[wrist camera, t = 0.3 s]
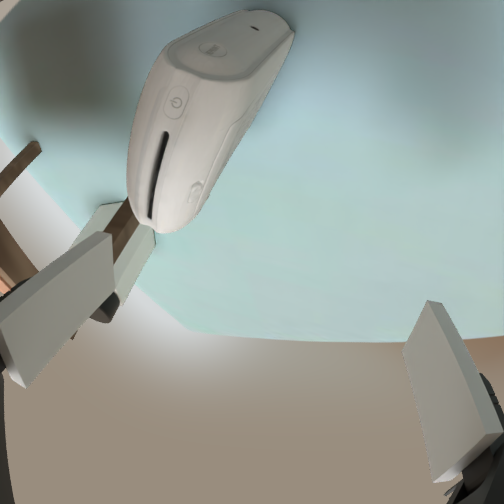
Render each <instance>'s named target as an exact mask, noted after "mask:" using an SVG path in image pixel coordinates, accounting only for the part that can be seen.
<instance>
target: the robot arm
mask: <svg viewBox="0 0 504 504" xmlns="http://www.w3.org/2000/svg"><path fill="white" fill-rule="evenodd" d="M114 290H115V281H114V267H113V248H112V234H109V233H105V232H100V231H97V232H95V233H94V234H92V235H91V236H89V237H88V238H86V239H85V240H83V241H82V242H80V243H79V244H77V245H76V246H74V247H73V248H72V249H70V250H69V251H67V252H66V253H65V254H63V255H62V256H60V257H59V258H57V259H56V260H55V261H53V262H52V263H50V264H49V265H48V266H46V267H45V268H44V269H42V270H41V271H40V272H38V273H37V274H36V275H34V276H33V277H30V278H28V279H25V280H23V281H21V282H19V283H18V284H16V285H15V286H14V287H12V288H11V290H9V291H7V292H6V293H5V294H4V296H1V297H0V504H15V502H14V498H13V492H12V486H11V480H10V474H9V467H8V459H7V450H6V439H5V423H4V379H3V375H2V371H3V370H4V369H5V368H6V369H7V371H8V373H9V375H10V377H11V379H12V380H13V381H15V382H17V383H18V384H19V385H21V386H23V387H24V388H26V389H27V388H28V387H29V385H30V384H31V383H32V382H33V380H34V379H35V378H36V377H37V376H38V374H39V373H40V372H41V371H42V370H43V368H44V367H45V366H46V365H47V364H48V363H49V361H50V360H51V359H52V358H53V357H54V356H55V355H56V354H57V352H58V351H59V350H60V349H61V348H62V347H63V346H64V344H65V343H66V342H67V341H68V340H69V339H70V338H71V337H72V335H73V334H74V333H75V332H76V331H77V330H78V329H79V328H80V327H81V325H82V324H83V323H84V322H85V321H86V320H87V319H88V318H89V317H90V316H91V315H92V314H93V313H94V312H95V310H96V309H97V308H98V307H99V306H100V305H101V304H102V303H103V302H104V301H105V300H106V299H107V298H108V297H109V296H110V295H111V294H112V293H113V292H114ZM402 354H403V358H404V361H405V365H406V368H407V372H408V375H409V379H410V382H411V386H412V390H413V393H414V398H415V402H416V406H417V410H418V414H419V418H420V422H421V427H422V431H423V436H424V440H425V445H426V450H427V455H428V460H429V466H430V471H431V477H432V482H433V483H435V482H443V481H450V480H452V479H453V478H454V477H455V476H457V475H458V474H459V473H460V472H462V474H463V479H462V480H461V481H460V482H458V483H457V484H456V485H454V486H453V487H452V488H451V489H449V490H448V491H447V492H446V493H445V494H444V495H445V496H447V495H448V494H450V493H451V492H453V491H454V492H453V493H452V495H451V497H450V498H449V501H448V502H447V504H504V414H503V411H502V409H501V406H500V405H498V403H499V402H498V400H497V397H496V396H495V393H494V391H493V389H492V386H491V384H490V383H489V381H488V380H487V379H486V378H485V377H484V375H483V374H481V373H479V372H478V370H477V368H476V366H475V364H474V362H473V360H472V358H471V356H470V354H469V352H468V350H467V348H466V346H465V344H464V342H463V340H462V338H461V336H460V335H459V333H458V331H457V329H456V327H455V325H454V324H453V322H452V320H451V318H450V316H449V315H448V313H447V311H446V309H445V308H444V306H443V304H442V303H439V302H434V301H428V300H427V301H426V304H425V306H424V308H423V310H422V312H421V314H420V316H419V318H418V321H417V323H416V325H415V327H414V329H413V331H412V333H411V334H410V336H409V338H408V340H407V342H406V344H405V346H404V348H403V350H402Z"/></svg>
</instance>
